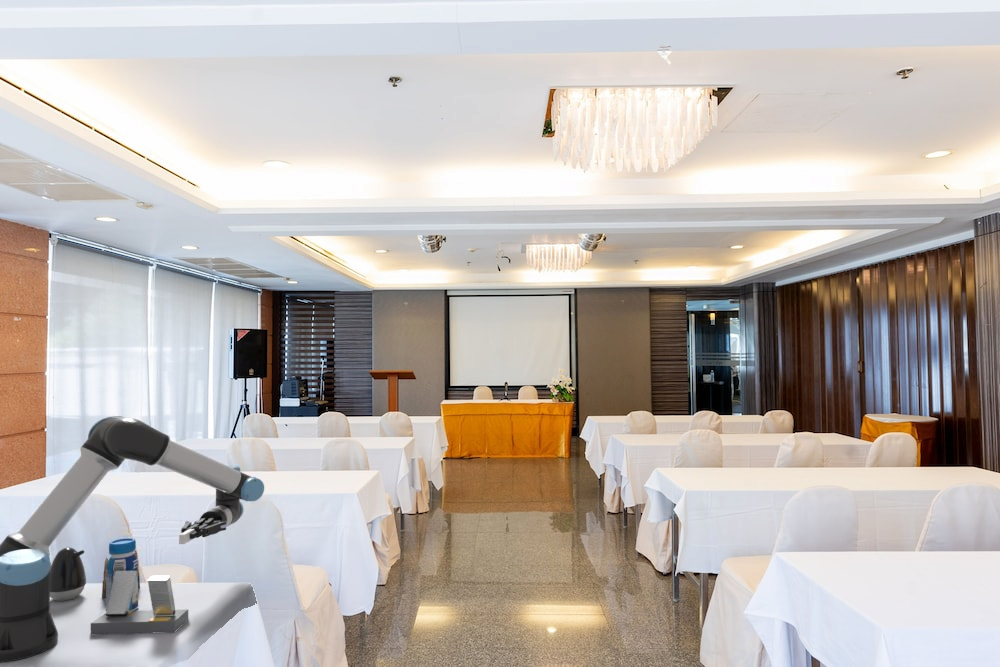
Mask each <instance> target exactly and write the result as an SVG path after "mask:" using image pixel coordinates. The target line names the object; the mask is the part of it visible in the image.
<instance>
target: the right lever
mask: <svg viewBox="0 0 1000 667" xmlns="http://www.w3.org/2000/svg"><path fill="white" fill-rule="evenodd" d="M147 585H148V589H149V590H148V591H149V596H150V597H149V598H150V602H151V607H152V610H153V614H154V616H163V615H175V610H176V606H175V605H176V604H175V598H174V594H173V588H172V580H171V575H151V576H150V577H149V578H148V579H147Z"/></svg>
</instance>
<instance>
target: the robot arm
mask: <svg viewBox="0 0 1000 667" xmlns="http://www.w3.org/2000/svg"><path fill="white" fill-rule="evenodd" d="M79 448H80V450H79V451H80V456H79V458H78V459H77V460H76V462H75V463H73V465H72V466H71V468H70V469H69V470H68V471H67V472H66V473H65V475H64V476H63V477H62V478H61V480H60V481H59V482H58V484H56V486H55V487H54V488H53V489H52V491H51V492H50V493H49V494H48V496H47V497H46V498H45V499H44V501H43V502H41V504H40V505H39V507H38V508H37V509H36V510H35V511H34V512H33V514H32V515H31V516H30V517H29V518H28V519H27V521H26V522H25V523H24V524H23V526H22V527H21V528H20V530H19V531H17V532H13V533H10V534H8V535H6V537H5V538H4V540H2V542H1V543H0V662H9V661H10V662H11V661H16V660H20V659H25V658H28V657H32V656H35V655H38V654H41V653H43V652H45V651H47V650H50V649H51V648H52V647H54V646H55V645H56V644H58V643H57V642H58V639H59V635H58V634H59V633H58V629H57V627H56V624H55V622H54V619H53V617H52V614H51V608H50V606H51V603H50V602H51V597H50V569H51V565H52V562H51V558H50V554H51V553H50V546H51V545H52V543H53V542H55V540H56V538H57V537H58V536H59V535H60V533H61V532H62V531H63V530H64V528H65V527H66V526H67V525H68V523H69V522H70V521H71V520H72V518H73V517H74V516H75V515H76V514H77V512H78V511H79V510H80V508H81V507H82V505H83V504H84V503H85V502H86V500H87V499H88V498H89V496H91V494H92V493H93V492H94V491H95V489H96V488H97V486H99V484H100V483H101V482H102V480H103V479H104V477H105V476H106V475H107V474H108V472H110V471H114V470H118V469H119V467H120V466H121V465H122V463H123V462H124V461H125V460H130V461H131V460H132V461H136V462H140V463H142V464H146V465H148V466H152V467H153V466H155V465H157V466H160V467H162V468H165V469H167V470H170V471H172V472H175V473H177V474H179V475H182V476H184V477H186V478H189V479H192V480H194V481H197V482H198V483H202V484H203V485H206V486H209V487H211V488H214V489H215V507H213V508H211V509H209V510H207V511H205V512H204V513H202V515H200V518H198V520H195V521H194V522H191V521H185V522H184V525H183V526H182V527H181V528H180V533H179V536H178V537H179V538H178V544H179V545H185V544H187V543H188V542H190V541H192V540H194V539H198V538H200V537H202V538H206V537H209V536H212V535H216V534H218V533H220V532H223V531H226V530H227V528H228V527H229V526H231V525H233V524H235V523H237V521H239V520H240V519H241V517H242V516H243V514H244V511H245V510H244V509H245V508H244V505H243V503H242V502H241V500H243V501H246V502H257V501H258V500H260V499H261V497H262V496H263V495H264V492H265V483H264V482H263V481H262V480H261V479H260V478H258V477H255V476H251V475H248V474H247V473H245V472H244V473H243V472H241V467H240V466H239V465H238V466H237V465H226V464H224V463H222V462H219V461H218V460H215V459H212V458H211V457H208V456H205V455H204V454H202V453H199V452H197V451H194V450H193V449H190V448H188V447H185V446H183V445H181V444H179V443H177V442H174V441H172V440H171V438H170V435H168V434H166V433H164V432H162V431H159V430H157V429H155V428H154V427H152V426H151V425H149V424H147V423H145V422H143V421H141V420H139V419H136V418H131V417H125V416H120V415H113V416H107V417H104V418H101V419H100V420H98V421H97V422H95V423H94V424H93V425H92V426H91V427H90V429H89V431H88V435H87V440H86V441H85V442H84V443H83V444H82V445H81V447H79Z"/></svg>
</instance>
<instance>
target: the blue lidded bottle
mask: <svg viewBox="0 0 1000 667" xmlns="http://www.w3.org/2000/svg"><path fill="white" fill-rule="evenodd" d="M133 553H134V554H135V555H136V557H137V559H138V560H139V558H138V557H139V555H138V552H137V550H136V549H135V551H134V552H133ZM108 560H109V559H108V558H107V557H105V560H104V565H103V566H104V568H103V569H104V570H103V580H102V591H101V599H104V598H106V579H105V576H106V573H107V569H106V565H107V562H108ZM137 567H138V568H139V564H138V565H137ZM140 581H141V580H140V574H139V575H138V590H139V589H140V588H141V582H140Z"/></svg>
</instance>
